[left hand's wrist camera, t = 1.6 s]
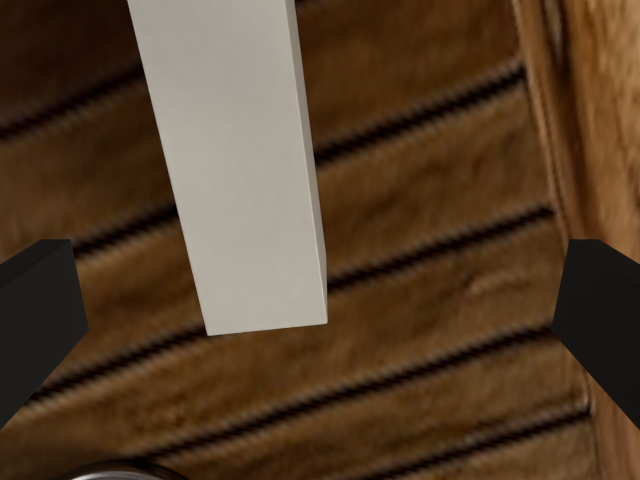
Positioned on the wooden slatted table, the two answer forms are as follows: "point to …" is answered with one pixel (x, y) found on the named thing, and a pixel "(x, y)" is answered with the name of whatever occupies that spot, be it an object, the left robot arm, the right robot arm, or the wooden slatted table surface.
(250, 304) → the post
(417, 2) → the wooden slatted table surface
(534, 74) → the wooden slatted table surface
